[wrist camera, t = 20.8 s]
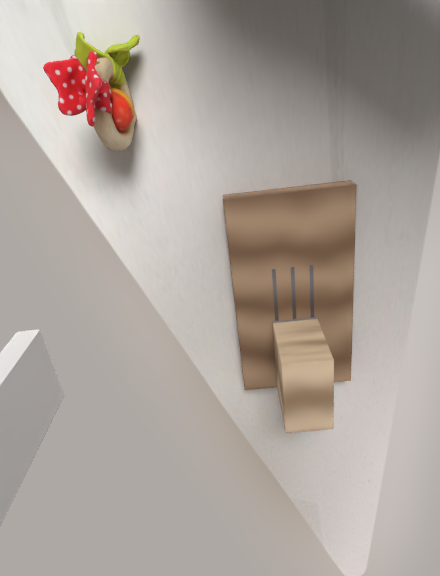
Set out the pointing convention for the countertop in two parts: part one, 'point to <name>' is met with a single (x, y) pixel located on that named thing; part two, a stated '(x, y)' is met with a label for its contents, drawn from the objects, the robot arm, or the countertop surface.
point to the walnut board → (292, 270)
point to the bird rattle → (97, 90)
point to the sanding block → (304, 375)
